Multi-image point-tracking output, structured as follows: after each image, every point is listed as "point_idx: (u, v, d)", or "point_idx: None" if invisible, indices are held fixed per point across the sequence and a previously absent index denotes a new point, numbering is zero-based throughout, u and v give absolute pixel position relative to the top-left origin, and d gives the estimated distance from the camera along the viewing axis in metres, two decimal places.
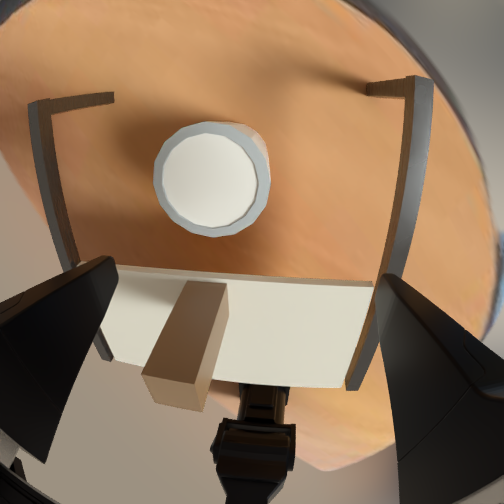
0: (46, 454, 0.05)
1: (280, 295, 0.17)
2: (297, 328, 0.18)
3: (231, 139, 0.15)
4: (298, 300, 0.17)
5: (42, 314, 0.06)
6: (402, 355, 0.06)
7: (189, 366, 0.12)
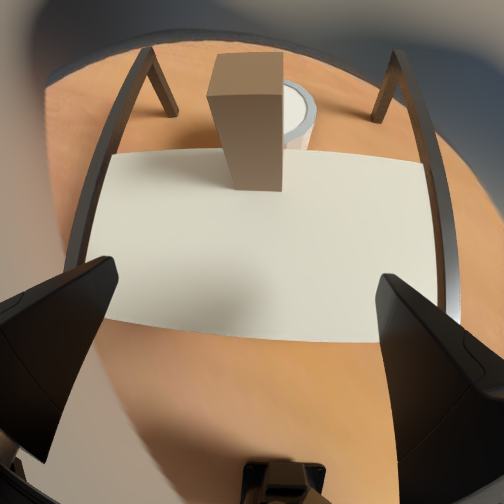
0: (46, 454, 0.05)
1: (339, 165, 0.15)
2: (363, 210, 0.14)
3: (287, 85, 0.19)
4: (358, 172, 0.15)
5: (42, 314, 0.06)
6: (402, 355, 0.06)
7: None
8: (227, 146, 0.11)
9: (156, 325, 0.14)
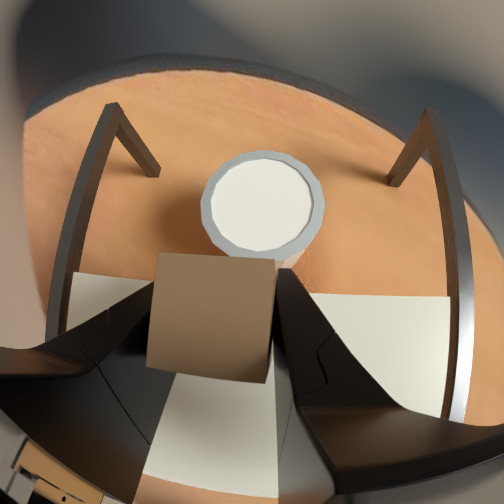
0: (134, 495, 0.05)
1: (347, 315, 0.12)
2: None
3: (288, 164, 0.16)
4: (370, 322, 0.12)
5: (138, 337, 0.06)
6: (276, 353, 0.07)
7: None
8: None
9: (144, 472, 0.11)
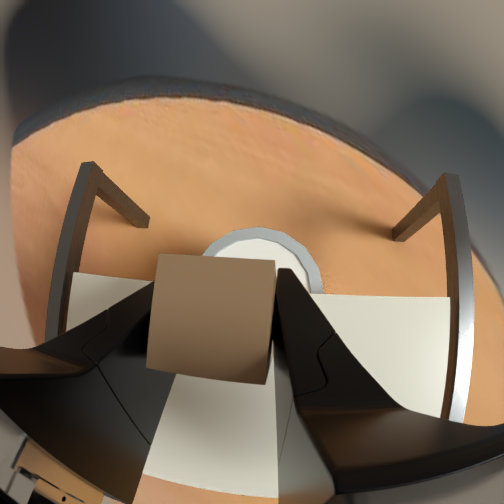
0: (134, 495, 0.05)
1: (347, 315, 0.12)
2: None
3: (285, 246, 0.15)
4: (370, 322, 0.12)
5: (138, 337, 0.06)
6: (276, 353, 0.07)
7: None
8: None
9: (143, 472, 0.11)
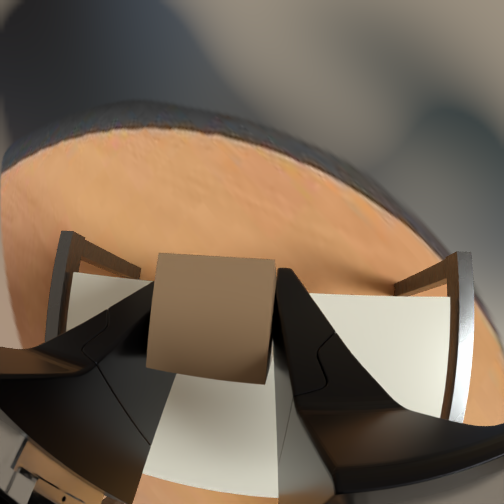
0: (134, 495, 0.05)
1: (347, 315, 0.12)
2: None
3: None
4: (370, 322, 0.12)
5: (138, 337, 0.06)
6: (276, 354, 0.07)
7: None
8: None
9: (143, 472, 0.11)
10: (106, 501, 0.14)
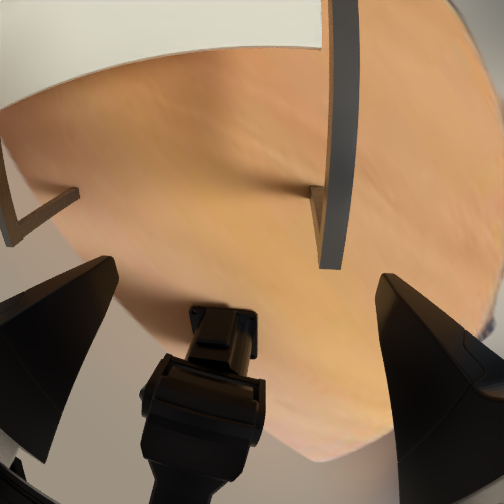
0: (46, 454, 0.05)
1: None
2: None
3: None
4: None
5: (42, 314, 0.06)
6: (402, 355, 0.06)
7: None
8: None
9: (35, 91, 0.10)
10: (49, 202, 0.20)
